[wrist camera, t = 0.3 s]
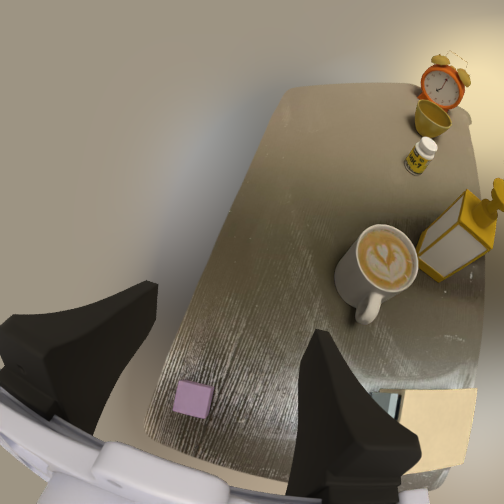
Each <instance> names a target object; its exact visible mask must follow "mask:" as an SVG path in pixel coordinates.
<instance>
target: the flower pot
mask: <svg viewBox="0 0 504 504" xmlns="http://www.w3.org/2000/svg"><path fill="white" fill-rule="evenodd" d="M451 125H452V122H451V119H450V117H449V116H448V114H447V113H446V112H445V111H444V110H443V109H442V108H441V107H439V106H438V105H437V104H435V103H433V102H431V101H429V100H423V99H422V100H419V101H418V104H417V107H416V112H415V126H416V130H417V131H418V133H419V134H420V135H422V136H423V137H429V138H433V137H436V136H439V135H441V134H442V133H444V132H445V131H447V130H448V129H449V128H450V127H451Z"/></svg>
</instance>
